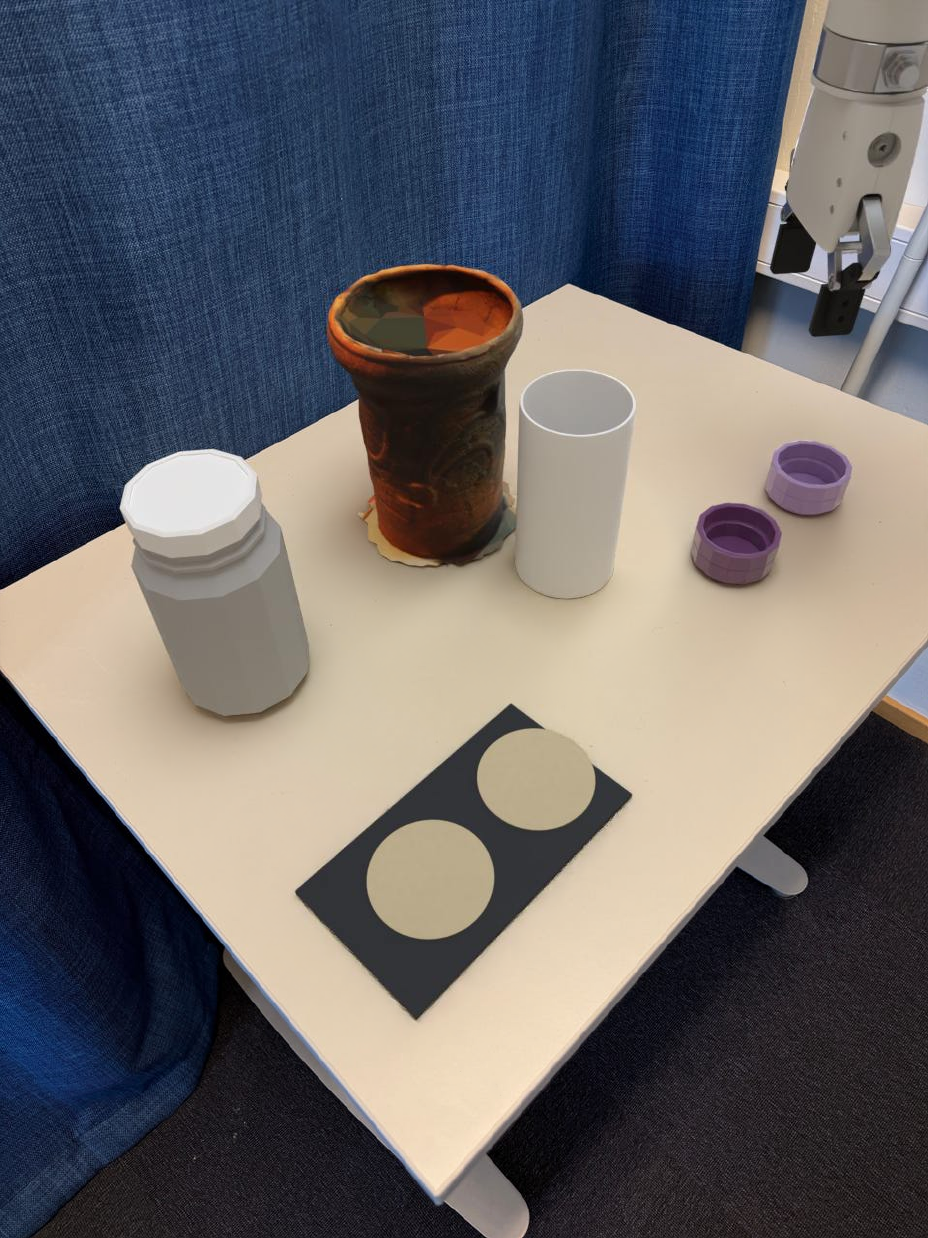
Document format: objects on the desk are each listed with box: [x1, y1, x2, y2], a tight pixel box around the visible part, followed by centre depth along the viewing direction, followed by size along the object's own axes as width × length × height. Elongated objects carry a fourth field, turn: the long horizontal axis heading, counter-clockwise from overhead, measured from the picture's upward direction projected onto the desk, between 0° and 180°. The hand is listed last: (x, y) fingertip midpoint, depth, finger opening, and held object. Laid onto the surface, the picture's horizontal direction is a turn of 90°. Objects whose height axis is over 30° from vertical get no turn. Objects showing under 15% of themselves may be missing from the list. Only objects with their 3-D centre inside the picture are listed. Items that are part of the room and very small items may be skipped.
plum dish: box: [690, 501, 783, 585], centre depth 74 cm, size 7×7×3 cm
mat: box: [294, 702, 633, 1021], centre depth 59 cm, size 20×11×1 cm, turn 136°
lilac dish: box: [764, 439, 853, 516], centre depth 80 cm, size 7×7×3 cm
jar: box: [119, 448, 310, 717], centre depth 62 cm, size 10×10×18 cm
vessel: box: [326, 263, 524, 567], centre depth 73 cm, size 14×14×20 cm
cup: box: [514, 368, 637, 600], centre depth 70 cm, size 8×8×16 cm
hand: (808, 301), depth 72 cm, fingers open, 9 cm apart
